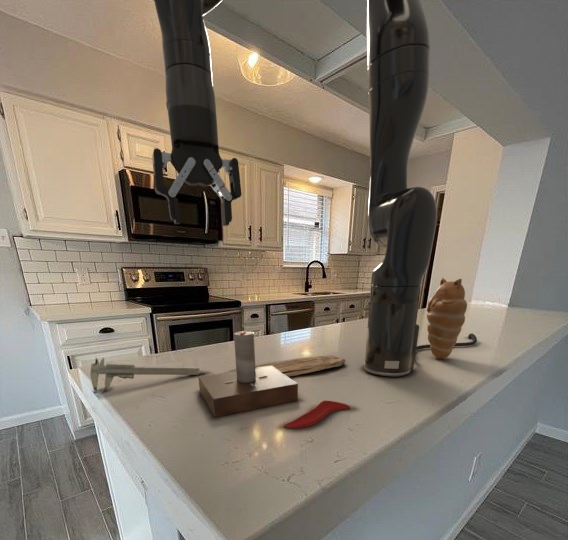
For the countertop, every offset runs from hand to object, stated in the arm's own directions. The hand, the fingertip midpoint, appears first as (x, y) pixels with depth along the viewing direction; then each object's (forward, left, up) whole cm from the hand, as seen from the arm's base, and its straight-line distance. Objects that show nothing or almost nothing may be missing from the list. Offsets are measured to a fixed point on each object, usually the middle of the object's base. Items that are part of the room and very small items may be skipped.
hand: (202, 224), depth 57 cm
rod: (-2, +14, -25) cm, 29 cm away
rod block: (-2, +14, -28) cm, 31 cm away
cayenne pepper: (-9, +26, -28) cm, 39 cm away
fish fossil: (-15, +4, -28) cm, 32 cm away
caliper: (+12, -1, -28) cm, 31 cm away
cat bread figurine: (-50, +13, -28) cm, 59 cm away
